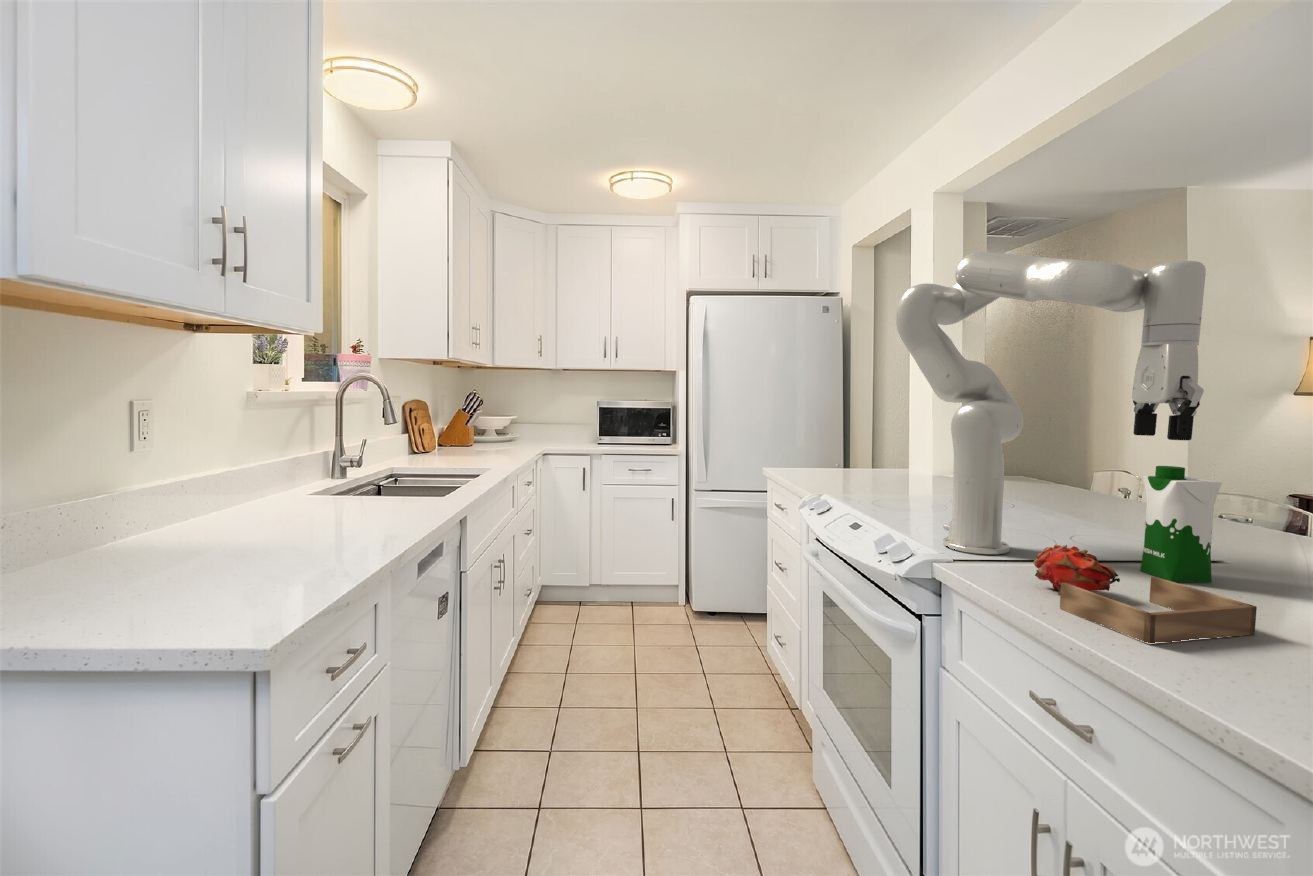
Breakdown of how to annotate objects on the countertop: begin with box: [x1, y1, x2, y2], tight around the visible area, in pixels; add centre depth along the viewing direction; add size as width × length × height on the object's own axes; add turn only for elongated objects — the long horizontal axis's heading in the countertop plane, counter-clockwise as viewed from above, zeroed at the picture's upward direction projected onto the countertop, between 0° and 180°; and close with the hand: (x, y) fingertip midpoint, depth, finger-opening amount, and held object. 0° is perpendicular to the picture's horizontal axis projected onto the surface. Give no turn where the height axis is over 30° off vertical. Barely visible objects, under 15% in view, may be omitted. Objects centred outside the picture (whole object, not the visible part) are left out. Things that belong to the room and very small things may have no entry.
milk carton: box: [1140, 465, 1222, 583], centre depth 108 cm, size 9×9×20 cm
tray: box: [1059, 576, 1258, 643], centre depth 87 cm, size 14×18×4 cm
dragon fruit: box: [1033, 544, 1121, 593], centre depth 100 cm, size 8×8×12 cm
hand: (1160, 437), depth 104 cm, fingers open, 9 cm apart
